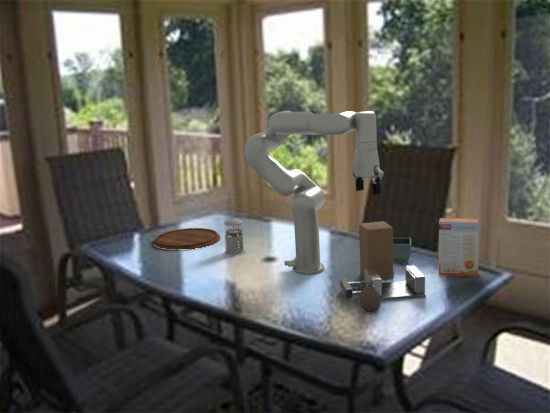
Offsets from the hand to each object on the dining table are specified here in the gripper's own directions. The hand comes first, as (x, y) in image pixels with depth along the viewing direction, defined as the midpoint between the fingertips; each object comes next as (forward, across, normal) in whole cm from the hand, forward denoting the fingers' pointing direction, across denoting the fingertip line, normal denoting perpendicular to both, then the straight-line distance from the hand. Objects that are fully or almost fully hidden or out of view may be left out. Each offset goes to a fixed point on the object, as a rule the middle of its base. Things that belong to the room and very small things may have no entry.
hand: (368, 192), depth 225 cm
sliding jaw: (+31, +14, -16) cm, 37 cm away
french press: (+31, -60, -28) cm, 73 cm away
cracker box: (+33, +19, +26) cm, 46 cm away
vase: (+32, +27, -22) cm, 47 cm away
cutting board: (+31, -92, -38) cm, 104 cm away
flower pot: (+32, -5, +18) cm, 38 cm away
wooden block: (+32, +3, +1) cm, 33 cm away
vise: (+32, +18, -6) cm, 38 cm away
